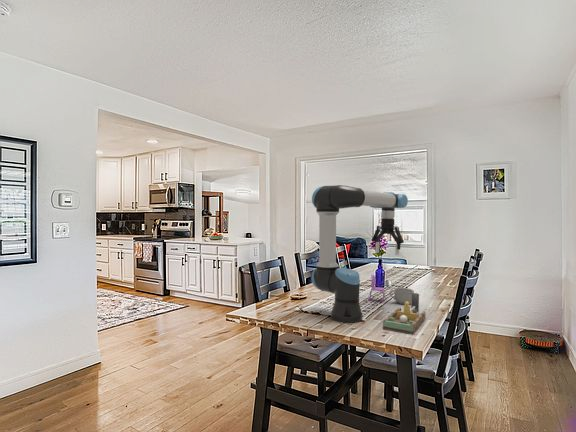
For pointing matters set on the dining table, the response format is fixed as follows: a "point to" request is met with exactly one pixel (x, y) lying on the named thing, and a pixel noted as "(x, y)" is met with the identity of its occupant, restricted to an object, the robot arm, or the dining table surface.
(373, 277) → the chair
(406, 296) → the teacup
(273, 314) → the dining table surface
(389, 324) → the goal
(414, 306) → the kicker
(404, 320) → the ball
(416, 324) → the tray
